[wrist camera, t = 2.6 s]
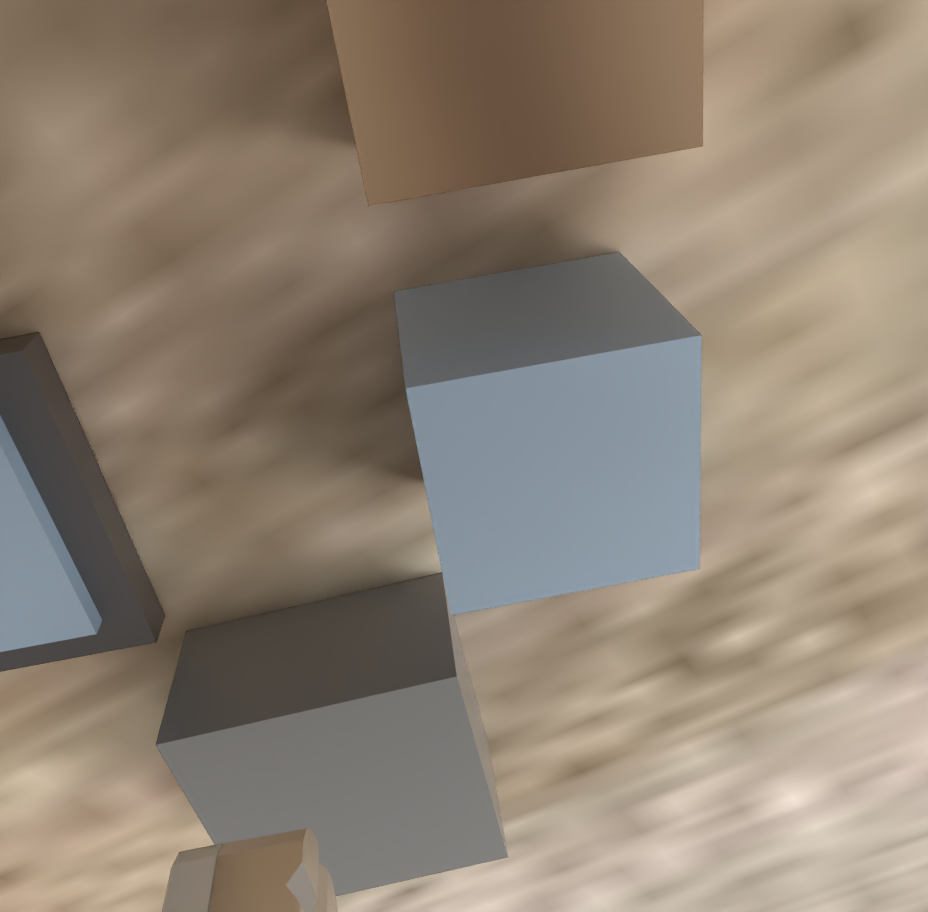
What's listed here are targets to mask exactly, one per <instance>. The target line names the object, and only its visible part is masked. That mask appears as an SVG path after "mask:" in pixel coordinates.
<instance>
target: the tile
mask: <svg viewBox="0 0 928 912" xmlns="http://www.w3.org/2000/svg"><path fill="white" fill-rule="evenodd" d="M164 617H165V615H164V612H163V610H162V608H161V606H160V603H159V601H158V599H157V597H156V594H155V592H154V590H153V588H152V585H151V583H150V581H149V579H148V576H147V574H146V572H145V570H144V567H143V565H142V563H141V561H140V558H139V556H138V554H137V552H136V549H135V547H134V545H133V543H132V540H131V538H130V536H129V534H128V531H127V529H126V527H125V525H124V522H123V520H122V518H121V516H120V513H119V511H118V509H117V507H116V504H115V502H114V500H113V498H112V495H111V493H110V491H109V489H108V486H107V484H106V482H105V480H104V477H103V475H102V473H101V471H100V468H99V466H98V464H97V462H96V459H95V457H94V455H93V453H92V450H91V448H90V446H89V444H88V441H87V439H86V437H85V435H84V432H83V430H82V428H81V426H80V423H79V421H78V419H77V417H76V414H75V412H74V410H73V408H72V405H71V403H70V401H69V399H68V396H67V394H66V392H65V390H64V387H63V385H62V383H61V381H60V378H59V376H58V374H57V372H56V369H55V367H54V365H53V363H52V360H51V358H50V356H49V354H48V351H47V349H46V347H45V345H44V342H43V340H42V338H41V336H40V333H34V334H28V335H22V336H17V337H11V338H5V339H0V672H1V671H6V670H12V669H17V668H22V667H28V666H33V665H38V664H44V663H49V662H54V661H60V660H65V659H70V658H76V657H81V656H86V655H92V654H97V653H102V652H108V651H113V650H118V649H124V648H129V647H134V646H140V645H145V644H150V643H156V642H157V640H158V637H159V633H160V630H161V627H162V624H163V620H164Z"/></svg>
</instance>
